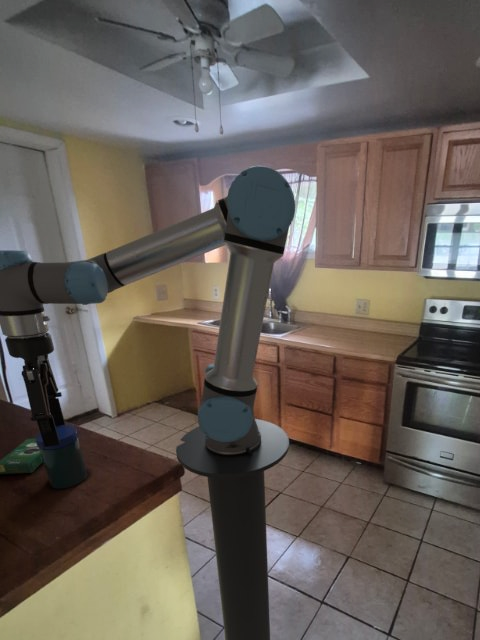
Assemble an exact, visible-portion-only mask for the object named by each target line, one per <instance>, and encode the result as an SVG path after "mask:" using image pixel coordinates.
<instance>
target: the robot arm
mask: <svg viewBox="0 0 480 640" xmlns="http://www.w3.org/2000/svg"><path fill="white" fill-rule="evenodd" d="M295 213H296V200H295V195H294V191H293V188H292V186H291V185H290V183H289V181H288V180H287V178H286V177H285V176H283V174H281V173H280V172H279V171H278V170H276V169H274V168H272V167H270V166H265V165H253V166H250V167H247V168H245V169H243V170H242V171H241V172H239V173H238V174H237V175H236V176H235V177H234V179H233V181H232V182H231V183H230V187H229V188H228V190H227V196H225V197H223V198H220V199H218V200H216V201H215V204H214V207H213V208H210V209H208V210H206V211H203V212H200V213H199V214H196V215H193V216H191V217H189V218H186V219H184V220H181V221H179V222H177V223H174V224H171V225H169V226H167V227H164V228H162V229H159V230H156V231H155V232H152V233H150V234H147V235H145V236H141V237H140V238H138V239H137V238H136V239H135V240H133V241H130V242H128V243H125V244H123V245H121V246H118V247H116V248H113V249H111V250H109V251H106V252H104V253H101V254H98V255H96V256H94V257H91V258H88V259H84V260H75V261H66V262H65V261H64V262H41V261H38V262H37V261H34V260H33V258H32V256H31V254H30V253H29V252H28V251H27V250H17V249H16V250H15V249H14V250H9V249H8V250H7V249H6V250H1V249H0V329H1V330H0V331H1V334H2V335H3V336H5V339H4V341H5V345H6V348H7V352H8V354H9V356H10V357H12V358H14V359H19V358H20V359H22V360H23V362H24V365H22V370H21V377H22V379H23V383H24V386H25V390H26V394H27V399H28V404H29V407H30V412H31V417H30V420H31V422H37V426H38V428H39V433H41V436H42V440H43V443H44V447H49V446H55V445H60V441H59V437H58V433H57V430H56V426H61V425H66V422H65V418H64V414H63V413H64V412H63V410H62V405H61V402H60V399H59V398H62V397H63V395H62V392H61V391H59V388H58V385H57V381H56V378H55V375H54V372H53V369H52V366H51V363H50V360H49V359H50V358H49V355H50V354H52V353H53V352H54V351H55V346H54V343H53V338H52V335H51V334H50V333H49V332H48V331H49V330H50V328H49V324H48V322H49V321H51V317H50V316H49V315H45V307H44V305H48V304H49V305H52V304H53V305H55V304H56V305H59V304H61V305H82V306H88V305H92V304H93V305H94V304H102V303H104V302H105V301H106V299H107V296H108V294H111V293H112V292H114V291H116V290H118V289H121V288H123V287H125V286H127V285H130V284H132V283H135V282H138V281H140V280H142V279H145V278H147V277H150V276H153V275H155V274H157V273H160V272H163V271H165V270H167V269H170V268H172V267H175V266H177V265H179V264H182V263H184V262H187V261H189V260H192V259H195V258H197V257H199V256H202V255H204V254H207V253H210V252H212V251H214V250H217V249H219V248H222V247H224V246H226V248H227V250H228V251H229V260H228V266H227V274H226V280H225V285H224V293H223V294H224V295H223V300H222V306H221V307H222V308H221V313H220V319H219V327H218V333H217V334H218V335H217V342H216V348H215V354H214V361H213V363H211V364H208V365H207V366H206V367H205V371H204V381H203V388H202V394H201V401H200V406H199V408H198V410H197V423H198V427H199V426H200V428H201V430H202V431H203V432H204V433H205V434H206V439H205V443H206V448H207V450H208V451H209V452H211V453H213V454H215V455H218V456H224V457H235V456H241V455H245V454H249V455H252V452H253V451H254V450H256V449H257V448H258V447H259V446H260V444H261V433H260V431H259V429H258V426H257V423H256V421H255V419H256V418H255V416H254V415H255V414H254V407H255V403H256V396H257V391H258V386H259V382H258V380H257V379H256V378H255V376H254V371H255V366H256V365H255V364H256V360H257V355H258V348H259V344H260V338H261V333H262V328H263V324H264V317H265V313H266V308H267V307H266V306H267V302H268V297H269V292H270V286H271V282H272V281H271V280H272V275H273V271H274V265H275V263H276V262H277V261H279V260H280V259H281V258H283V257H284V254H285V249H286V244H287V241H288V234H289V229H290V227H291V226H292V222H293V221H294V218H295Z"/></svg>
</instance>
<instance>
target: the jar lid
mask: <svg viewBox="0 0 480 640" xmlns="http://www.w3.org/2000/svg"><path fill="white" fill-rule="evenodd" d="M56 430H57V433H58V437H59V441H60V445H55V446H49V447H44V443H43V440H42V436H41V433H40V432H38V433H36V435H35V437H34V438H35V439H36V444H37V447H39V448H40V449H46V450H50V449H57V448H62V447H65V446H67V445H70V444H72V443H73V442H75V441H76V440H77V439H79V432H78V430H77V428H76V426H74V425H70V424H69V425H68V424H65V425H60V426H56Z"/></svg>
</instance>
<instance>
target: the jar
mask: <svg viewBox="0 0 480 640" xmlns="http://www.w3.org/2000/svg"><path fill="white" fill-rule="evenodd" d="M80 443H81V442H80V439H79V438H78V439H77V440H76V441H75V442H73V443H72V444H70V445H67V446H65V447H62V448H57V449H50V450H46V449H40V448H39V450H40V453H41V457H42V460H43V462H42V464H43V466H44V469H45V472H46V475H47V476H46V477H47V478H48V482H49V485H50V486H51V488H54V489H68V488H71V487H74V486H78V485H79V484H81V483H82V482H84V481H85V480H86V479H87V478H88V470H87V467H86V462H85V459H84V455H83V454H84V453H83V451H82V447H81V444H80Z"/></svg>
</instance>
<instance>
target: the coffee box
mask: <svg viewBox="0 0 480 640" xmlns="http://www.w3.org/2000/svg"><path fill="white" fill-rule="evenodd" d="M42 464H43V460H42V457H41V453H40V450H39V447H37V444H36V439H35V437H33V438H26V439H25V440H24V441H22V442H21V443H20V444H19V445H17V447H15V448H14V449H12V450H11V451H10V452H9V453H8V454H6V455H4V457H3V458H2V459H0V475H8V474H9V475H10V474H11V475H13V474H32V473H34V472H35V470H37V469H38V467H39V466H41V465H42Z"/></svg>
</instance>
